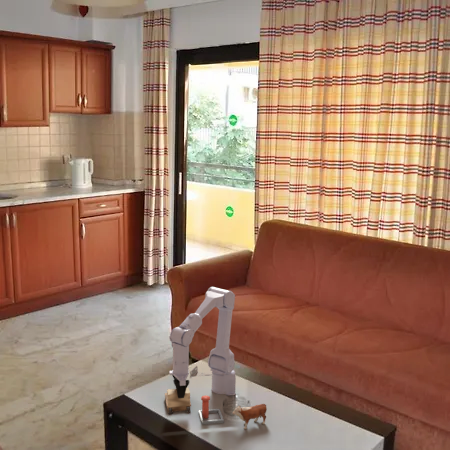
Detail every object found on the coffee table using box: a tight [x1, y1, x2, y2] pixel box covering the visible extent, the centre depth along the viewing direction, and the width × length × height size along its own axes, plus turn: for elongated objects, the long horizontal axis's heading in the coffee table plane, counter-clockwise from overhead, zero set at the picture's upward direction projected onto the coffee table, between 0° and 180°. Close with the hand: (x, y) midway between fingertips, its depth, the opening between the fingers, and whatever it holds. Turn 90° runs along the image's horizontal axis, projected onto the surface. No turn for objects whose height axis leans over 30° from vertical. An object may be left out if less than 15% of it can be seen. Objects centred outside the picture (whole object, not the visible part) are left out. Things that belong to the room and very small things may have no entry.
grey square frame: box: [198, 408, 225, 425], centre depth 204 cm, size 8×8×2 cm
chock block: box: [166, 387, 191, 407], centre depth 203 cm, size 8×4×5 cm, turn 101°
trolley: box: [164, 392, 192, 415], centre depth 213 cm, size 9×14×3 cm, turn 11°
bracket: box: [189, 365, 212, 378], centre depth 237 cm, size 7×10×4 cm, turn 67°
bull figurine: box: [232, 403, 268, 431], centre depth 201 cm, size 4×13×8 cm, turn 113°
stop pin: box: [200, 394, 211, 420], centre depth 204 cm, size 3×3×8 cm
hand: (180, 394), depth 203 cm, fingers closed on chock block, 4 cm apart
